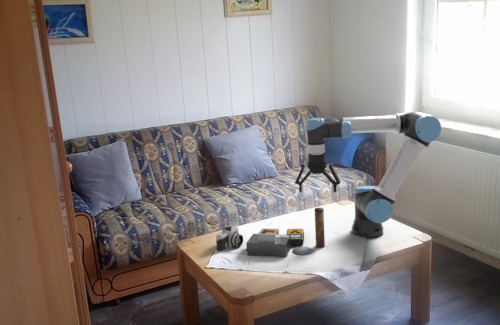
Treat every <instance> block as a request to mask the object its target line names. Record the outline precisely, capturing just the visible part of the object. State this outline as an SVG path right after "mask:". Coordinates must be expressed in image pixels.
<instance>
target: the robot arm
mask: <svg viewBox="0 0 500 325" xmlns="http://www.w3.org/2000/svg"><path fill="white" fill-rule="evenodd" d="M392 132H393V133H395V134H397V135H398V134H403V139H404V141H403V142H402V144H401V146H400V148H399V150H398V151H397V153H396V155H395V156H394V158H393V160H392V162H391V163H390V165H389V167H388V168H387V170H386V172H385V173H384V175H383V177H382V178H381V180H380V182H379V183H378V185H377V186H376V185H363V186H357V187H355V188H354V219H353V223H352V224H351V225H352V226H351V233H352V234H353V235H354V236H358V237H361V238H376V237H380V236H382V235H383V234H384V226H383V223H385V222H387V221H389V220H390V219H391V217H392V216H393V213H394V207H393V206H394V205H395V203H396V201H397V200H396V199H397V198H396V194H397V192H398V190H399V189H400V187H401V186H402V184H403V182H404V181H405V179H406V177H407V176H408V174H409V172H410V171H411V168H413V165H414V164H415V162H416V160H417V159H418V157H419V155H420V154H421V152H422V151H423V150H425V149H427V148H428V147H429V145H430V144H431V142H434V141H436V140H437V139H438V138H439V137H440V135H441V132H442V125H441V122H440V120H439V119H438V118H437V117H436V116H434V115H433V114H430V113H425V112H421V111H409V112H408V111H407V112H397V113H394V114H393V115H377V116H372V115H371V116H352V117H347V116H345V117H332V116H327V117H325V118H322V117H313V118H309V119H307V120H306V133H307V135H306V136H307V138H306V139H307V153H308V154H307V158H308V159H307V162H308V163H305V162H303V163H301V167H300V171H299V173H298V174H297V177H296V179H295V181H294V184H295V185H298V188H299V189H298V190H299V193H301V200H303V201H304V199H305V198H306V196H305V181H306V180H307V179H308V178H309V176H310V175H311V174H313V175H316V174H317V175H321V174H322V175H323V176H324V177H325V178H326V179H327V180H328V181H329V182H330V183H331V184H332V185H331V200H332V201H334V200H335V193H337V191H338V190H337V187H338V186H337V185H340V184H341V179H340V178H339V176H338V174H337V172H336V171H335V168H334V165H333V162H330V163H326V154H325V152H326V147H325V146H326V145H325V140H333V139H334V140H335V139H345V138H346V139H347V138H350V137H351V136H352V134H362V133H363V134H366V133H368V134H369V133H392ZM306 168H308V170H309V171H308V172H307V173H306V174H305V176H304V177H303V178H302V179H301V177H302V175H303V173H304V170H306ZM326 168H327V169H328V170H329V171H330V173H331V175H332V176H333V177H332V176H331V175H330V174H329V172H327V170H326ZM300 180H301V181H300Z"/></svg>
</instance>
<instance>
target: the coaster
mask: <svg viewBox="0 0 500 325" xmlns="http://www.w3.org/2000/svg"><path fill="white" fill-rule="evenodd" d="M313 252H314V250H313V248H311V247H308V246H298V247H297V246H296V247H295V248H294V249H292V253H293V254H295V255H296V256H297V255H299V256H306V255H311V254H312V253H313Z"/></svg>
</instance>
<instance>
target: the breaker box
mask: <svg viewBox="0 0 500 325" xmlns="http://www.w3.org/2000/svg"><path fill="white" fill-rule="evenodd" d="M266 232H272V233H273V234H264V233H266ZM245 244H246V256H253V257H270V258H271V257H273V258H287V257H288V255H289V253H290V251H291V249H292V246H291V235H287V234H280V229H279V228H260V231H259V232H258V233H252V235H251V236H250V237H249V238H248V240H247V241H246V243H245Z"/></svg>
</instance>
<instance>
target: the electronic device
mask: <svg viewBox="0 0 500 325" xmlns="http://www.w3.org/2000/svg"><path fill="white" fill-rule="evenodd" d="M286 230H287V231H286V235H291V247H292V246H294V247H295V246H296V247H297V246H298V247H300V246H303V245H304V241H305V232H304V231H305V230H304V228H288V229H286Z"/></svg>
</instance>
